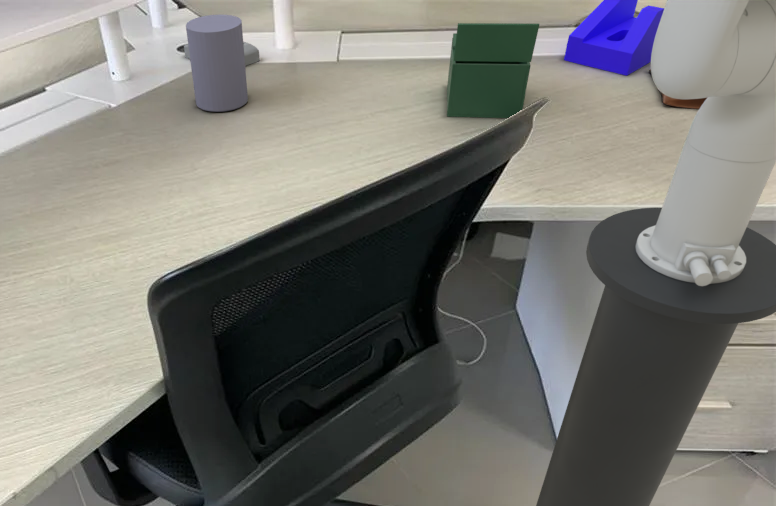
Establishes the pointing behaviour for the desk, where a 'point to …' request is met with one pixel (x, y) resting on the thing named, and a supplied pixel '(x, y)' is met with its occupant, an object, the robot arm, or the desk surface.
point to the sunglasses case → (682, 102)
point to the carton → (485, 87)
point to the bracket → (615, 37)
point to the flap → (495, 42)
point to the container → (217, 62)
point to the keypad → (249, 53)
